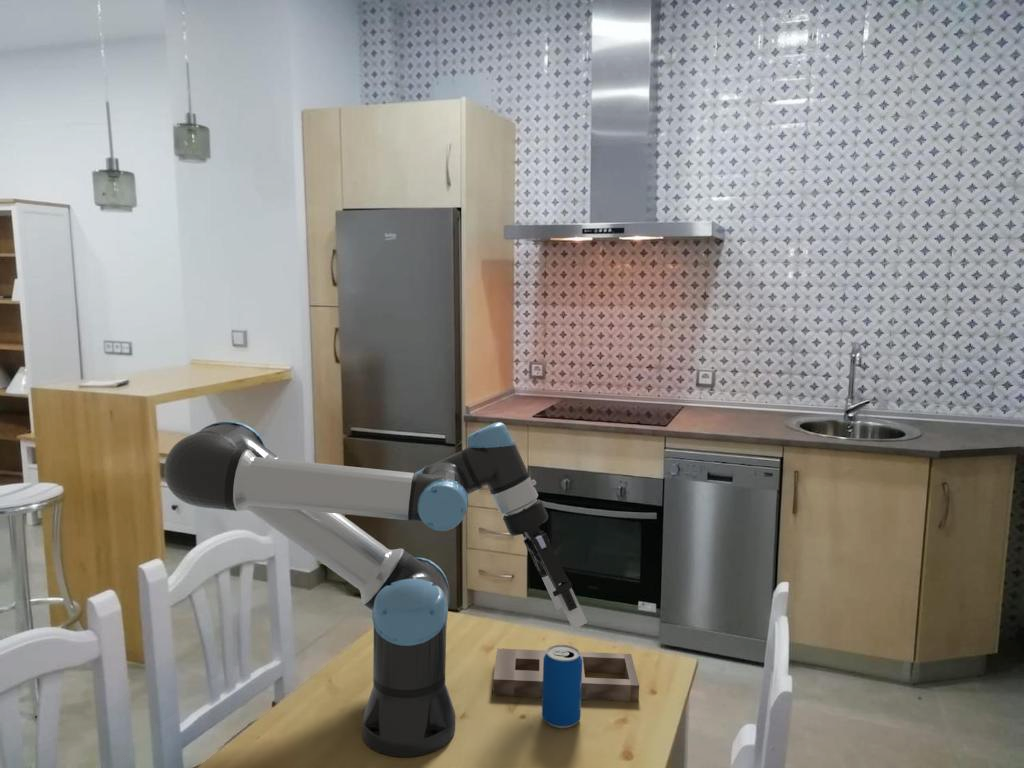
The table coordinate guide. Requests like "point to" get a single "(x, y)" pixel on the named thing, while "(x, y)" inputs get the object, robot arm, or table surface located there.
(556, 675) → the beverage can
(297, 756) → the table surface
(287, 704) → the table surface
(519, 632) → the table surface
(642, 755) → the table surface
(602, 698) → the hole board
